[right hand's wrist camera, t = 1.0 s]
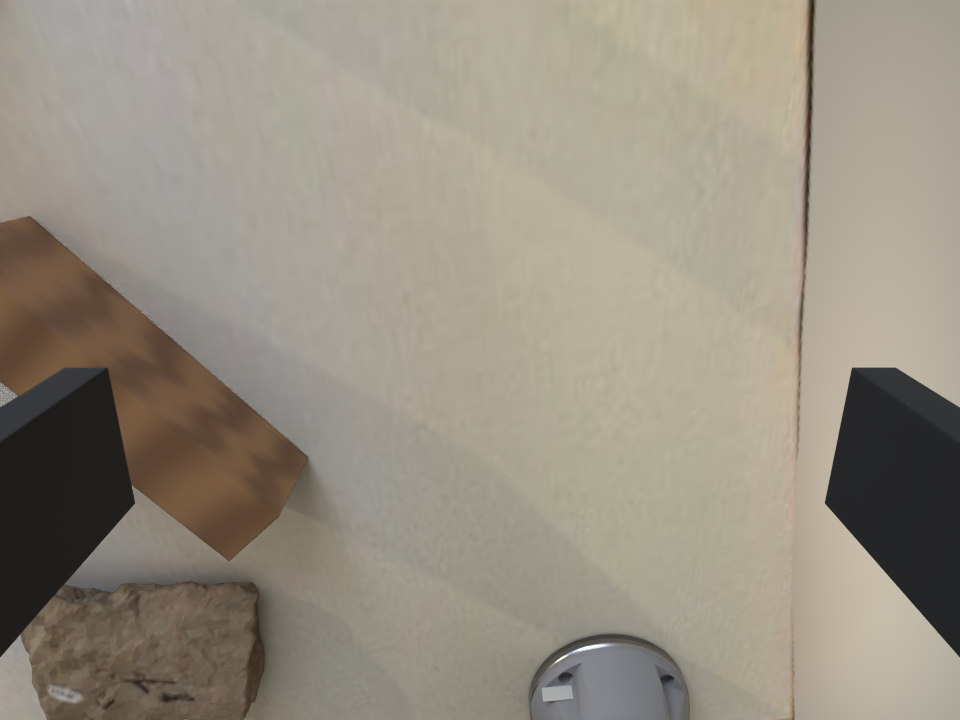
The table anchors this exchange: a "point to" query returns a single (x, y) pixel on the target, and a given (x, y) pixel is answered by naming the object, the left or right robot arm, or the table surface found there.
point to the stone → (147, 652)
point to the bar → (143, 392)
